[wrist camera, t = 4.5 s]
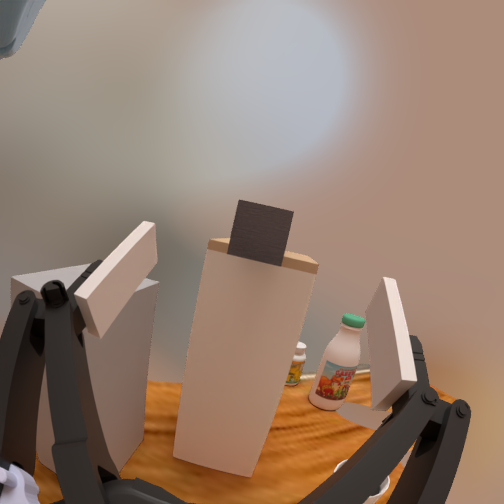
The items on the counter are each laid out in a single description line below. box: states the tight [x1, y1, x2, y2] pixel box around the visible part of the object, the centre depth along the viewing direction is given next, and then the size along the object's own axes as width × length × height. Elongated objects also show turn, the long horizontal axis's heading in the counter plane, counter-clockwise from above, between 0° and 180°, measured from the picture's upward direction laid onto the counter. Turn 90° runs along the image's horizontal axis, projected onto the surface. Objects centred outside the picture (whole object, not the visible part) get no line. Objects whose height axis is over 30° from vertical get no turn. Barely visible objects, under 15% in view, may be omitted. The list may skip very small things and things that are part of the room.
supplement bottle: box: [285, 342, 306, 386], centre depth 62 cm, size 5×5×10 cm
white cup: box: [333, 460, 390, 504], centre depth 22 cm, size 7×7×10 cm
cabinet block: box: [173, 238, 319, 478], centre depth 35 cm, size 11×12×30 cm
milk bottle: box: [309, 314, 365, 410], centre depth 54 cm, size 8×8×20 cm
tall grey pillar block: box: [11, 264, 159, 473], centre depth 25 cm, size 9×14×24 cm, turn 174°
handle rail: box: [227, 200, 294, 267], centre depth 31 cm, size 4×26×4 cm, turn 174°
